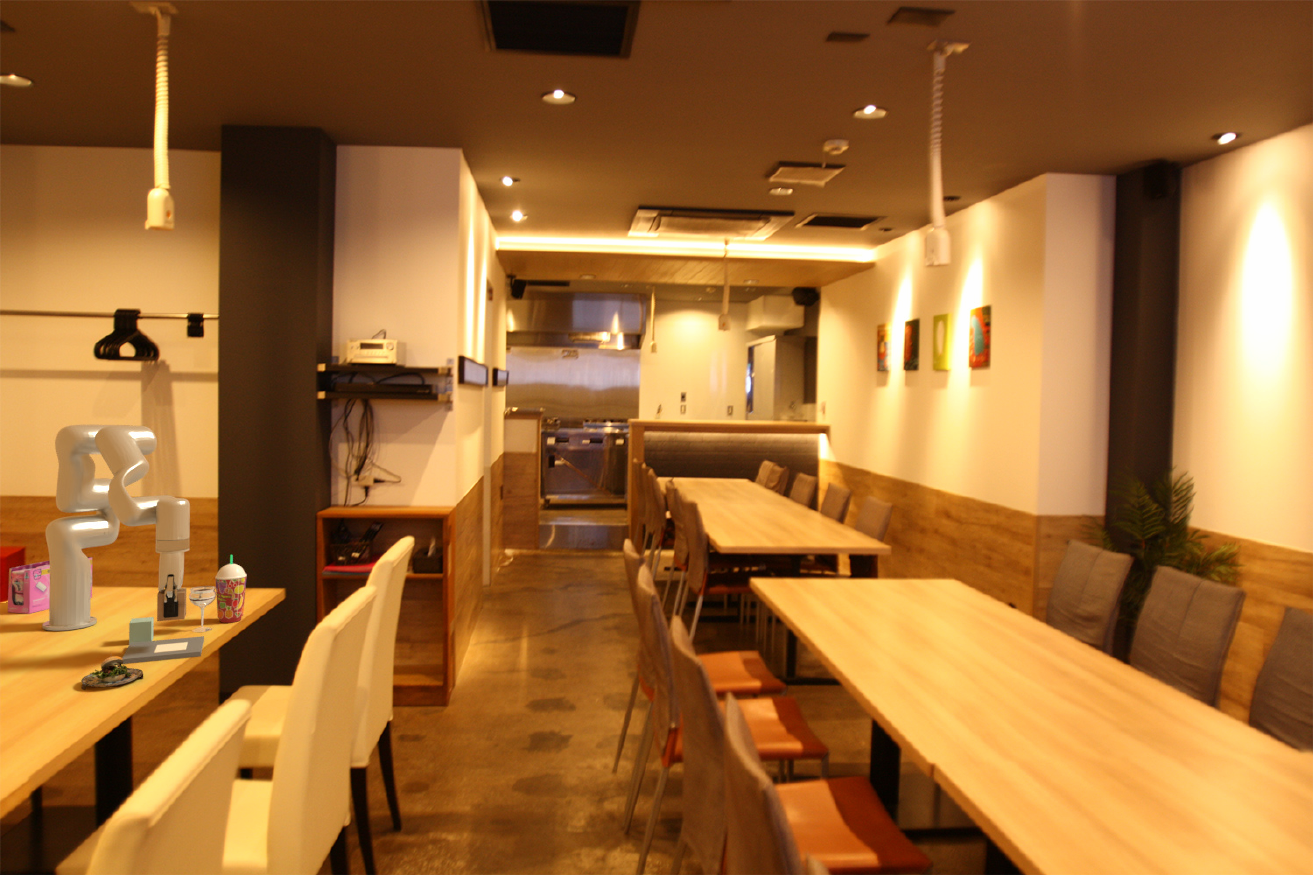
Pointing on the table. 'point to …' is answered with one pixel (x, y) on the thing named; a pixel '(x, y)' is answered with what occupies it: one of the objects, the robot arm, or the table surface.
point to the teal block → (141, 629)
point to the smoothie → (230, 592)
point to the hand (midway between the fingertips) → (172, 613)
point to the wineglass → (202, 601)
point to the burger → (111, 674)
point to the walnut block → (181, 605)
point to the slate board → (163, 649)
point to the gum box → (31, 587)
